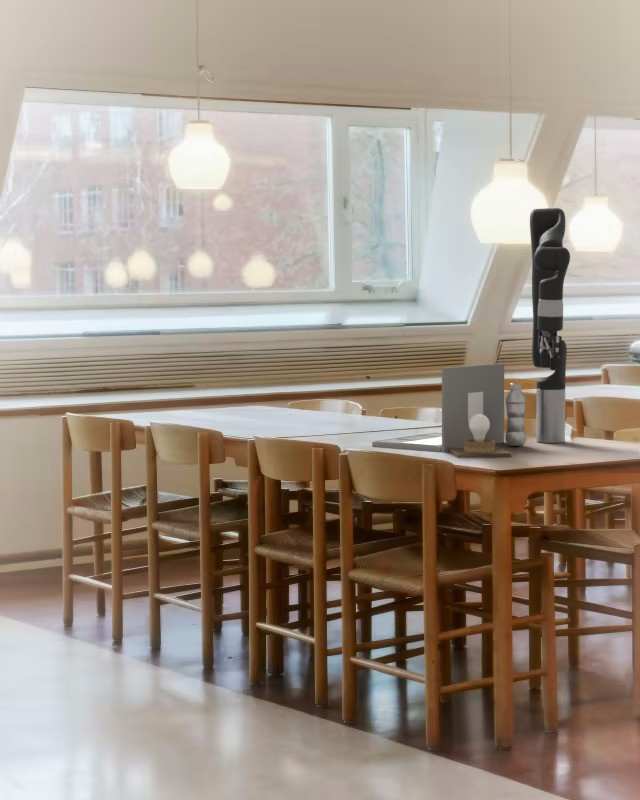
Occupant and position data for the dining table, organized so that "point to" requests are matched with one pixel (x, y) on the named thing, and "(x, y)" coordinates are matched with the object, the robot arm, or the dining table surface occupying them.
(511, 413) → the plastic bottle
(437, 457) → the dining table surface
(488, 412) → the laptop
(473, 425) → the lightbulb
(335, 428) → the dining table surface
